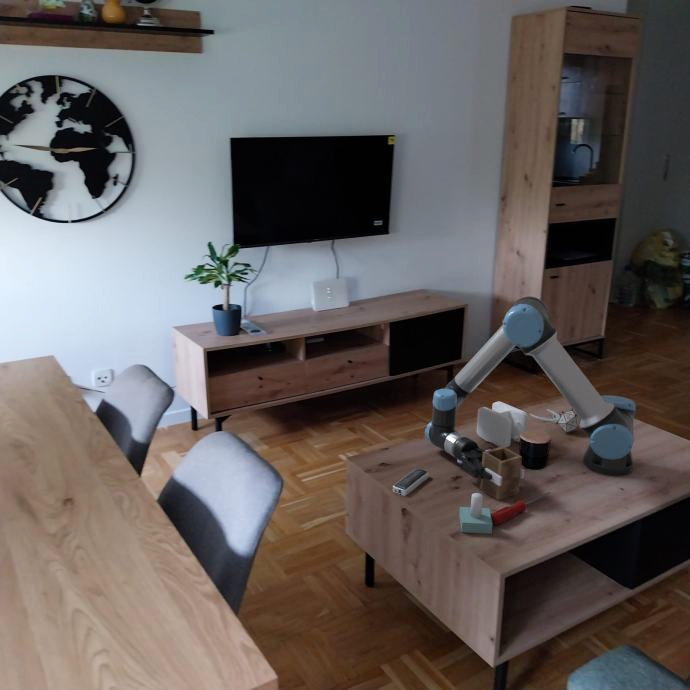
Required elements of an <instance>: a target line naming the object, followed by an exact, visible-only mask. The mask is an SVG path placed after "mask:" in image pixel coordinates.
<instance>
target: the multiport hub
mask: <svg viewBox="0 0 690 690" xmlns="http://www.w3.org/2000/svg"><path fill="white" fill-rule="evenodd" d="M429 474H430V473H429V471H428V470H425V469H421V468H418V467H416V468H414V469H413V470H411V472H409V473H408V474H407V475H405V476H404V477H403V478H402V479H400V480H398V481H397V482H396V483H395V484H394V485H392V493H394V492H395V493H394V494H397V493H398V494H397V495H400V494H401V495H400V496H403V497H406V496H407V495H409V494H410V493H411V492H412V491H414V490H415V489H416V488H418V487H419V486H420V485H421V484H422V483H424V482H425V481H426V480H427V479H428V478H429Z"/></svg>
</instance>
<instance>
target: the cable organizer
mask: <svg viewBox="0 0 690 690" xmlns="http://www.w3.org/2000/svg"><path fill="white" fill-rule="evenodd" d="M528 424H529V415H528V413H527V412H525V411H524V410H522V409H519V408H517V407H514V406H512V405H510V404H507V403H504V402H502V401H496V402H493V403H492V406H491V408H488V407H486V406H482V407H480V408H478V410H477V420H476V434H477V436H478V437H480V438H481V439H482V440H483V439H484V441H486V442H488V443H491V444H494V445H495V446H496V447H497V448H499V447H505V448H507V449H508V448H509V447H510V446H511V440H512V439H513V440H512V441H514V442H516V441H517V442H516V443H520V442H519V438H520V434H521V433H522V432H525V431H527V432H528Z"/></svg>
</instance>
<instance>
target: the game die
mask: <svg viewBox="0 0 690 690" xmlns="http://www.w3.org/2000/svg"><path fill="white" fill-rule="evenodd" d="M558 415H559V416H560V418H559V421H558V423H557V422H554V423H555V425H558V426H559V427H560V428H561V429H562V430H563V431H564V432H565V435H567V434H568V433H570V432H577V431H578V430H580V427H579V426H580V421H581V418H580V417H579V416H578V414H577V413H576V412H575V411H574V409H573V408H572V407H571V410H569V411H562V410H561V413H559V414H558ZM577 429H578V430H577Z"/></svg>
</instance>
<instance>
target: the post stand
mask: <svg viewBox="0 0 690 690" xmlns="http://www.w3.org/2000/svg"><path fill="white" fill-rule="evenodd" d="M470 499H471V500H470V501H471V502H470V507H469V506H459V515H458V516H459V523H460V524H459V525H460V529H461V533H471V534H472V533H473V534H486V535H487V534H491V535H492V533H493V523H492V520H491V515H490V514H491V511H490V508H489V507H488V508H487V507H483V500H484V496H483V494H482V493H479V492H475V493H472V494H471V498H470Z"/></svg>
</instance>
